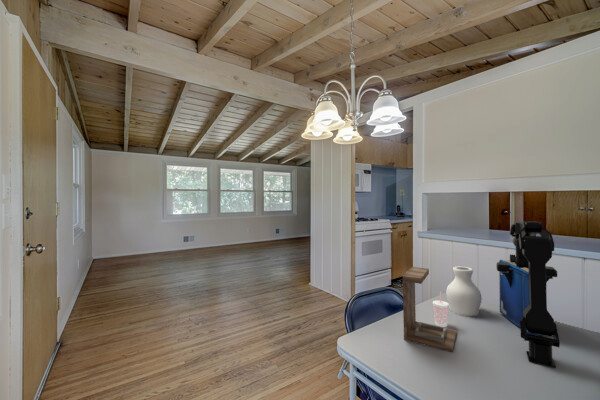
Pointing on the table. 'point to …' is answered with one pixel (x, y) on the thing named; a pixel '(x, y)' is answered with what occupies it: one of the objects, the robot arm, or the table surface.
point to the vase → (463, 293)
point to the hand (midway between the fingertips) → (525, 290)
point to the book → (514, 293)
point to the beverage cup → (440, 312)
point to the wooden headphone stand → (419, 330)
